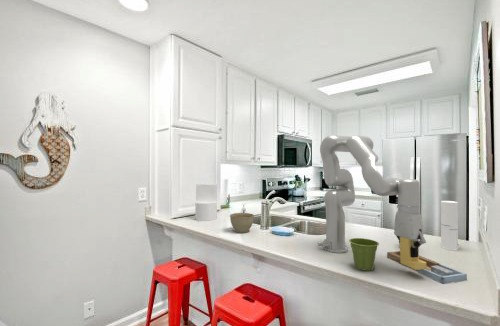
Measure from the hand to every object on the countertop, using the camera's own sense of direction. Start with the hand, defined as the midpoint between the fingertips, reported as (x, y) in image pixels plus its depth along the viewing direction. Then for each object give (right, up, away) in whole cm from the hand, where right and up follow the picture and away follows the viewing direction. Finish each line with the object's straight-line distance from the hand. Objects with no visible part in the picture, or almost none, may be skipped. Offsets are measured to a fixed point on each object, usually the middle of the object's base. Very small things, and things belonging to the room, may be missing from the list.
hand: (409, 254), depth 102 cm
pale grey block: (+11, -8, -1) cm, 13 cm away
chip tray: (+11, -8, -3) cm, 14 cm away
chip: (+11, -8, -4) cm, 14 cm away
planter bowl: (-70, -9, +67) cm, 97 cm away
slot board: (+8, -8, +10) cm, 15 cm away
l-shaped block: (+1, -4, -2) cm, 4 cm away
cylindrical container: (+42, -9, +33) cm, 54 cm away
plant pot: (-15, -9, +8) cm, 19 cm away
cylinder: (-100, -9, +104) cm, 145 cm away
